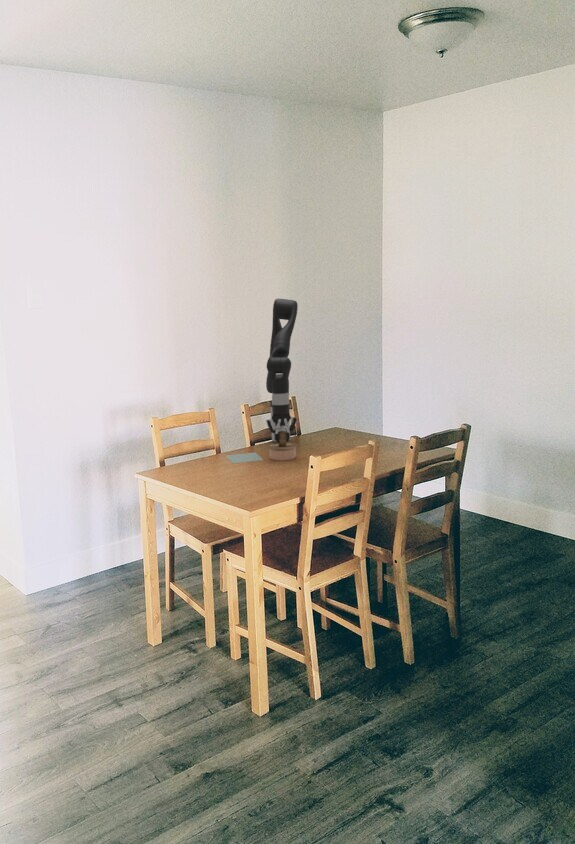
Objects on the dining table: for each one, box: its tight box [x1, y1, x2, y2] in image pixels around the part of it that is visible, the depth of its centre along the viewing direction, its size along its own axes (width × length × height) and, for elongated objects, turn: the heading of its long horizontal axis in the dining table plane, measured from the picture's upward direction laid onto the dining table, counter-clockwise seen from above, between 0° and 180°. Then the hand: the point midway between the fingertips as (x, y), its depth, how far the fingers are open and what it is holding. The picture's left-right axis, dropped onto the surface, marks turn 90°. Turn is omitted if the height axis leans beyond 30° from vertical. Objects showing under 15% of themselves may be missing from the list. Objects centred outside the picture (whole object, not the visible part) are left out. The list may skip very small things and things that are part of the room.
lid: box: [268, 431, 297, 451], centre depth 315 cm, size 12×12×7 cm
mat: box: [225, 452, 264, 464], centre depth 319 cm, size 16×14×1 cm
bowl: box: [268, 447, 297, 462], centre depth 316 cm, size 11×11×5 cm
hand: (282, 441), depth 315 cm, fingers open, 4 cm apart
